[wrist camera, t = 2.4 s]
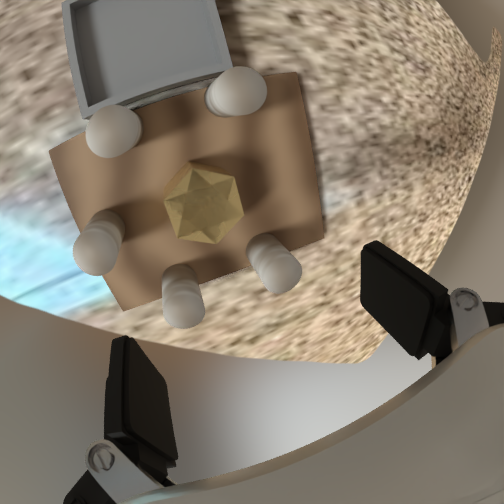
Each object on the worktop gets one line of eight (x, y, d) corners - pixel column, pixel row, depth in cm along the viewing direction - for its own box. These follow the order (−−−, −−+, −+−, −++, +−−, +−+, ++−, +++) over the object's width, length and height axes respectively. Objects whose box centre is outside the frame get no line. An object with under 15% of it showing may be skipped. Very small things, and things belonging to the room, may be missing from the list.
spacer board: (290, 69, 24) (326, 57, 18) (319, 237, 34) (352, 263, 28) (51, 145, 20) (19, 153, 14) (126, 308, 30) (122, 349, 24)
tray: (198, -28, 16) (202, -41, 13) (226, 74, 23) (233, 69, 20) (69, 12, 14) (61, 2, 11) (91, 119, 20) (82, 119, 18)
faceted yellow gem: (158, 171, 24) (156, 181, 20) (217, 151, 25) (229, 156, 21) (180, 234, 27) (184, 255, 23) (235, 215, 28) (248, 232, 24)
